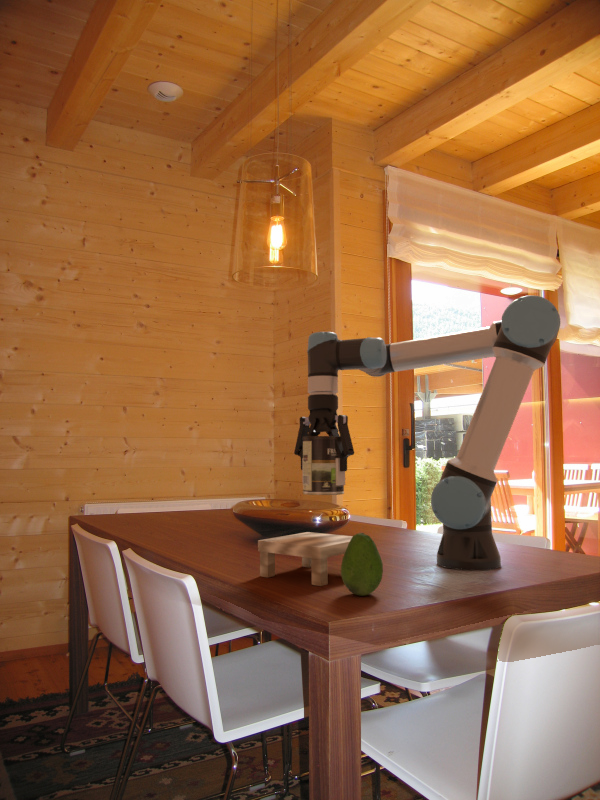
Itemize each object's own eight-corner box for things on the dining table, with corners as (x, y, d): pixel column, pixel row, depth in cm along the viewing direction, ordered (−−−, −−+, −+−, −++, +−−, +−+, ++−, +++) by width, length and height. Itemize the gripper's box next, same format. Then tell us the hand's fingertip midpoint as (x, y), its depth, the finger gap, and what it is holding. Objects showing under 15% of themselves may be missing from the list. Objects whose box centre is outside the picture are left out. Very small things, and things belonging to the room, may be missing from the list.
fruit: (360, 588, 125) (359, 529, 126) (391, 594, 119) (389, 532, 120) (333, 595, 120) (332, 532, 121) (364, 601, 114) (362, 536, 115)
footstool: (368, 573, 141) (367, 537, 142) (320, 586, 127) (320, 547, 128) (307, 564, 152) (307, 532, 153) (258, 576, 139) (257, 540, 139)
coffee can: (352, 493, 151) (352, 436, 152) (327, 495, 143) (326, 435, 144) (319, 491, 158) (319, 437, 159) (293, 494, 150) (293, 436, 151)
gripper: (368, 392, 148) (369, 485, 146) (299, 398, 163) (299, 482, 161) (349, 390, 142) (350, 486, 140) (279, 396, 157) (279, 483, 155)
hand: (323, 484), depth 151 cm, fingers closed on coffee can, 10 cm apart
